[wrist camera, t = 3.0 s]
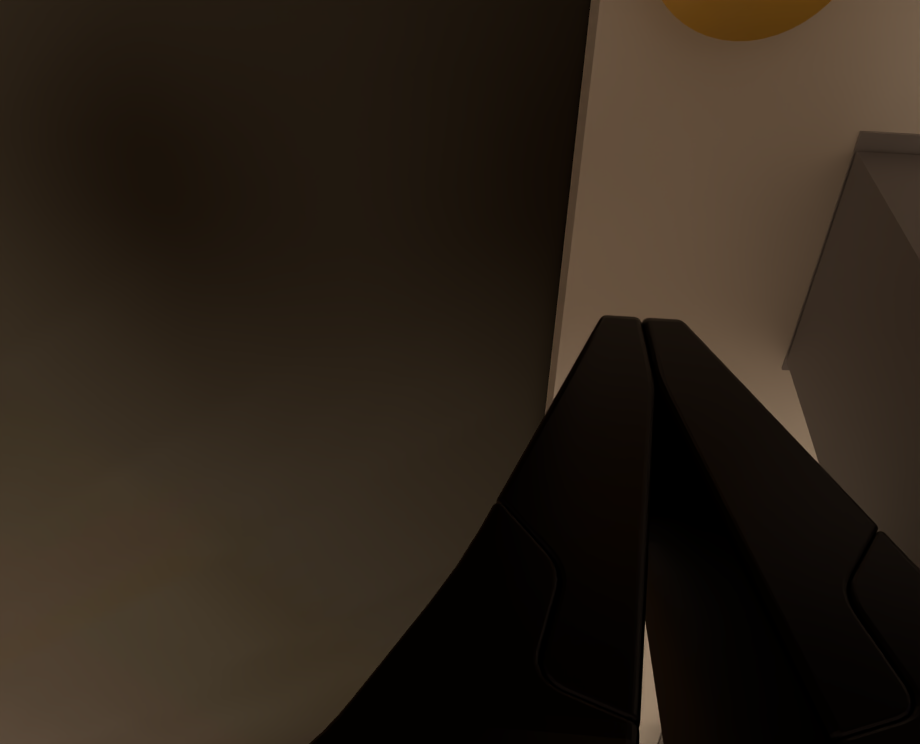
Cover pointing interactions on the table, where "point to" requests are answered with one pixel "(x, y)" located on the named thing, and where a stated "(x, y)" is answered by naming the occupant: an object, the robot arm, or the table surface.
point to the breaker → (868, 346)
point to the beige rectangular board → (724, 175)
